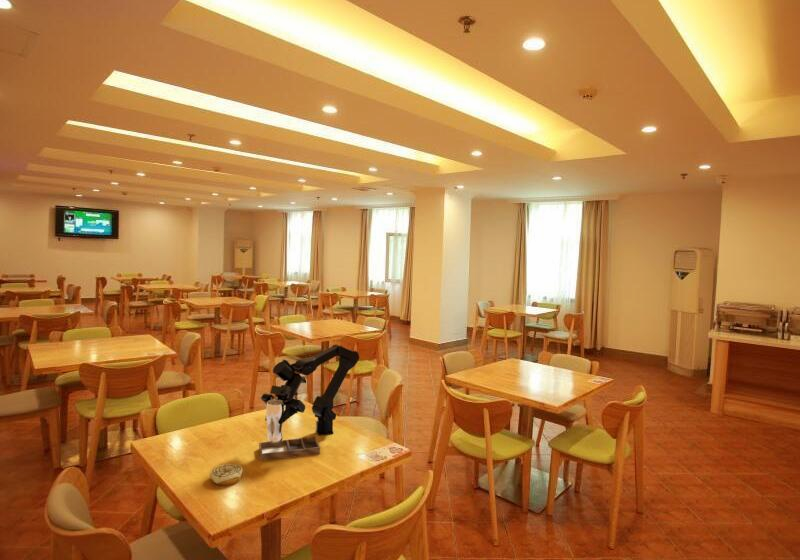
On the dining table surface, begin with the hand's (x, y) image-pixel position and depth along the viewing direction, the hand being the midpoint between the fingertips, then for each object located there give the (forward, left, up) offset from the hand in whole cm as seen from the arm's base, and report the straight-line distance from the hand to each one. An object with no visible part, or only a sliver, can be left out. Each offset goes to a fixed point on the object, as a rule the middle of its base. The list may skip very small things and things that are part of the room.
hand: (272, 422), depth 179 cm
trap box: (-6, -1, -13) cm, 14 cm away
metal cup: (-1, -1, -7) cm, 8 cm away
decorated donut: (+17, +16, -13) cm, 26 cm away
